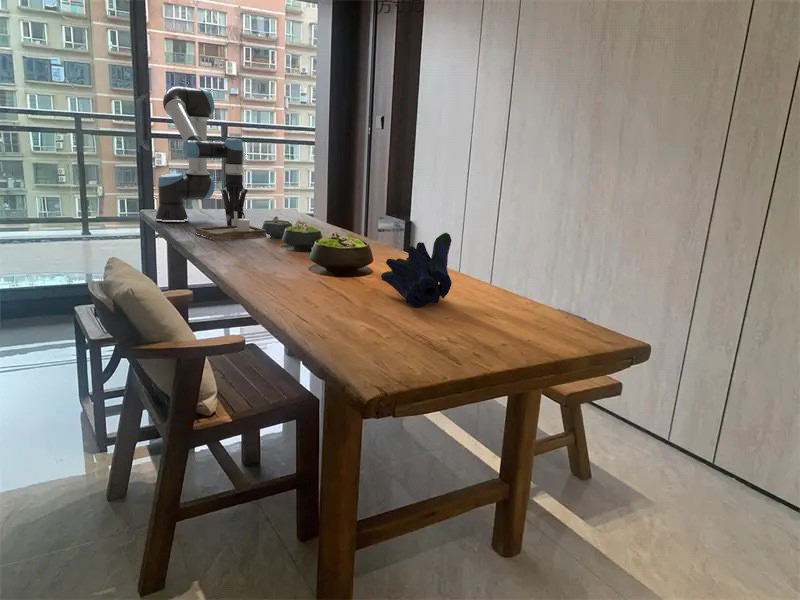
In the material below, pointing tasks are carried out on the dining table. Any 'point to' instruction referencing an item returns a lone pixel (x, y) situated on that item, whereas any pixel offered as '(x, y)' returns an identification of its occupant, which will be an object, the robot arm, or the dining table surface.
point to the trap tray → (229, 232)
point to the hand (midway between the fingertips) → (234, 225)
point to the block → (243, 224)
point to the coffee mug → (229, 222)
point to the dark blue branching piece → (421, 273)
